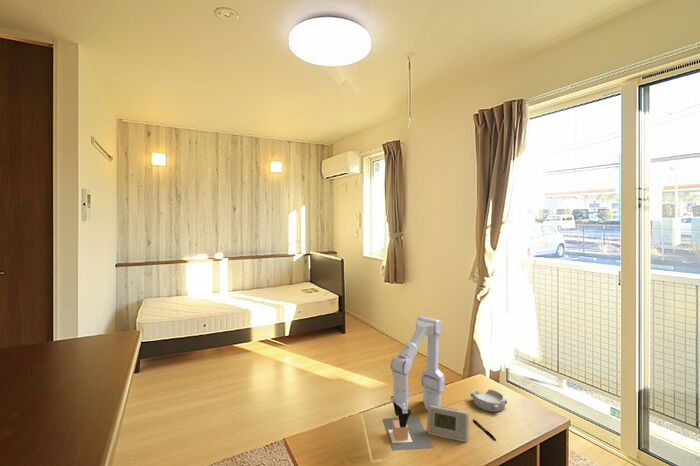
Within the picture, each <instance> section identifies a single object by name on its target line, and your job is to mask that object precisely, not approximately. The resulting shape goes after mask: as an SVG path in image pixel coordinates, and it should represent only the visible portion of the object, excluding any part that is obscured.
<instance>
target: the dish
mask: <svg viewBox="0 0 700 466" xmlns="http://www.w3.org/2000/svg"><path fill="white" fill-rule="evenodd" d="M469 392H470V397H472V401H473V404H474V405H475V406H476V407H477V408H479V409H481V410H484V411H487V412H490V413H491V412H493V413H498V412H501V411H503V410H504V409H505V407H506V405H507V404H508V399H507V398H505V396H504V395H503V394H502V393H501V392H499V391H497V390H495V389H492V388H490V389H488V390H487V391H486V392H484V393H481V392H479V391H478V390H477V389H475V390H473V391H469Z"/></svg>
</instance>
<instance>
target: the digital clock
mask: <svg viewBox="0 0 700 466" xmlns="http://www.w3.org/2000/svg"><path fill="white" fill-rule="evenodd" d="M469 417H470V416H469V412H467V411H465V410H459V409H457V408H456V409H455V408H450V407H445V406H439V407H438V406H433V405H429V406H428V410H427V420H426V421H427V422H426V423H427V424H426V434H427V435H431V436H436V437H441V438H444V439H449V440H453V441H457V442H462V443H467V442H469V431H470V430H469V429H470V428H469V423H470V422H469Z"/></svg>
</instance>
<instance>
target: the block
mask: <svg viewBox="0 0 700 466" xmlns="http://www.w3.org/2000/svg"><path fill="white" fill-rule="evenodd" d="M392 432H393V435H394V438H395V440H406V439H408V426H407V424H406V427H400V424H399V420H393V430H392Z"/></svg>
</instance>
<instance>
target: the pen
mask: <svg viewBox="0 0 700 466" xmlns="http://www.w3.org/2000/svg"><path fill="white" fill-rule="evenodd" d="M472 422H473V424H474V425H475V426H476V427H478V428H481V429H482V431H484V433H485V434H486V435H488V436H489V437H490V438H491V439H493V440H494V441H497V439H496V437H495V436H494V435H493V434H492V433H491V432H490V431H488V430H487V429H486V428H484V426H482V425H481V423H479V422H478V421H477V420H476V419H473V420H472Z"/></svg>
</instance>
